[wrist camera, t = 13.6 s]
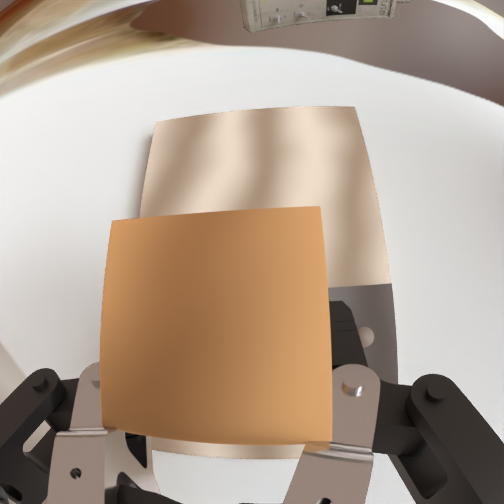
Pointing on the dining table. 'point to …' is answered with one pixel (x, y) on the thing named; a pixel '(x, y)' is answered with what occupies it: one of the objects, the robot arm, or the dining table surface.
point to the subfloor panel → (279, 196)
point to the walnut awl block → (218, 328)
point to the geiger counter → (311, 11)
